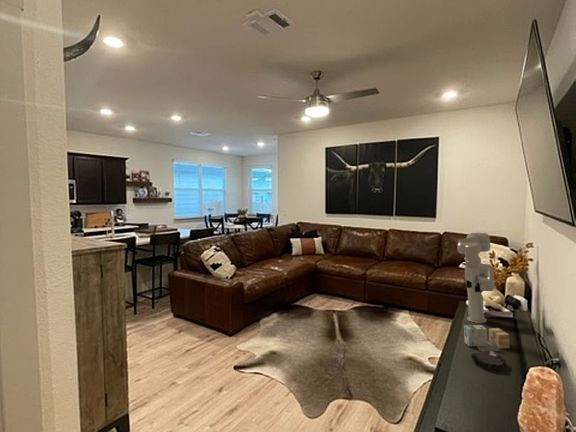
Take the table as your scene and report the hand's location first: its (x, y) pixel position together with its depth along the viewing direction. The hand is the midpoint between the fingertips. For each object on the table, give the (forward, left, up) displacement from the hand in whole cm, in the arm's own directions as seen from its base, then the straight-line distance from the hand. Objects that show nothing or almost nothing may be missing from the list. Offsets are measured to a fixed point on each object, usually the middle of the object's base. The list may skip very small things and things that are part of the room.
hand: (473, 289), depth 210 cm
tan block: (+16, +6, -30) cm, 34 cm away
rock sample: (+38, -13, -30) cm, 50 cm away
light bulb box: (+15, -2, -24) cm, 28 cm away
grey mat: (+17, -4, -30) cm, 34 cm away
